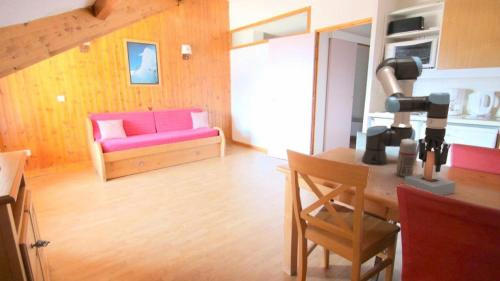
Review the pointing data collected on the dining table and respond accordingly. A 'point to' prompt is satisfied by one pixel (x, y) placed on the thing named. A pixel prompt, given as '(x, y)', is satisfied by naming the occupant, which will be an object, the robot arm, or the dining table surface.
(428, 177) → the dowel
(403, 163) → the spray can
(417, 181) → the socket block
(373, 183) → the dining table surface
